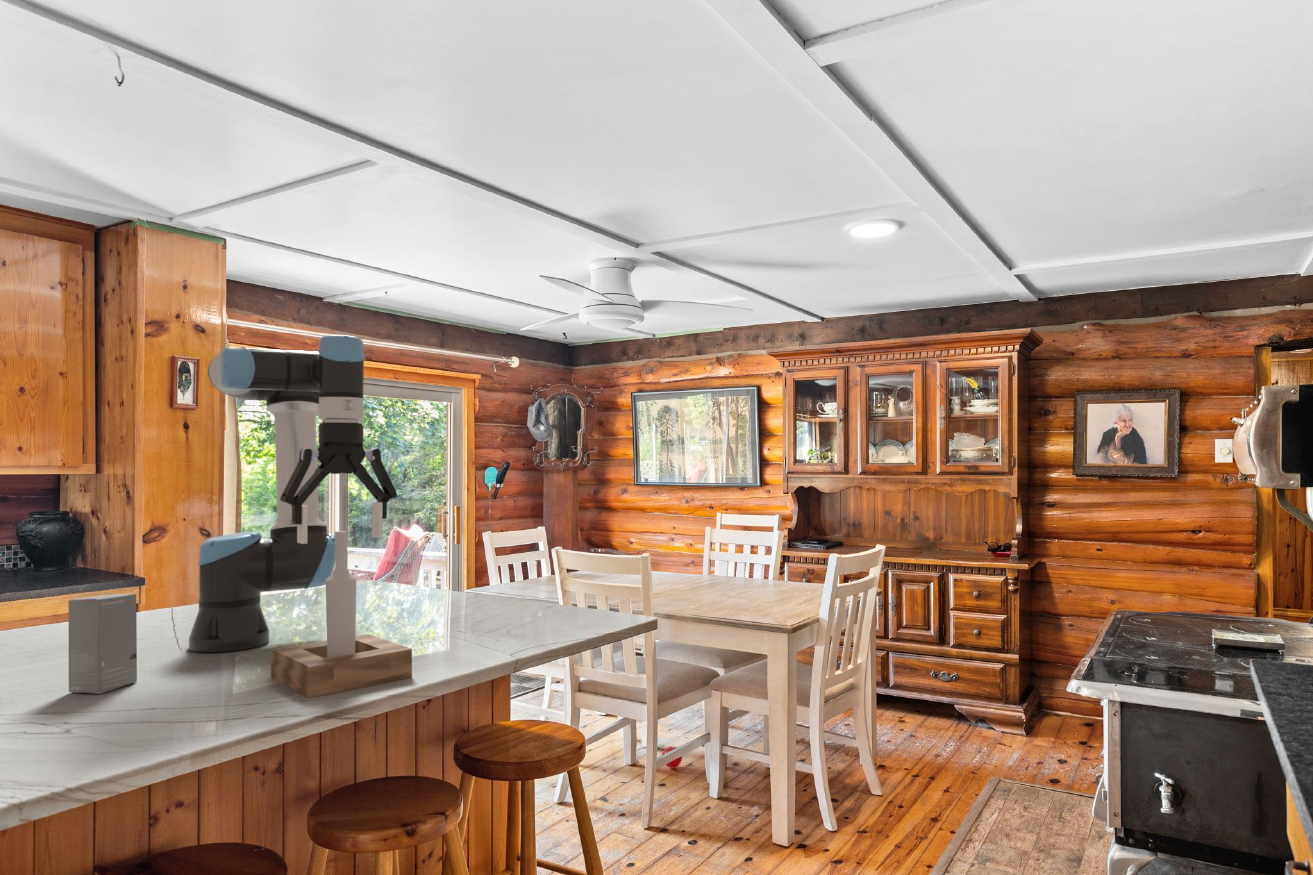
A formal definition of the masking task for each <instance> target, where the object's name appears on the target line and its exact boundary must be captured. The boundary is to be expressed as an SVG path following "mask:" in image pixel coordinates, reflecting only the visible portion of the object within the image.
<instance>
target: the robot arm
mask: <svg viewBox="0 0 1313 875" xmlns="http://www.w3.org/2000/svg"><path fill="white" fill-rule="evenodd" d="M318 345H319V346H318V349H317V351H311V350H310V351H307V350H306V351H305V350H295V349H294V350H293V349H291V350H289V349H273V348H272V349H270V348H259V347H257V348H255V347H246V346H236V347H235V346H228V347H227V346H226V347H224V348H223V349H222V350H221V352H219V353H218V354H216V355H215V356H214V357H213V358H212V359H211V360H210V362H209V365H208V369H207V374H208V375H207V376H208V380H209V381H210V384H211V385H212V386H213V387H214V388H215V390H217V391H218V392H220V393H222V394H223V395H224V394H225V395H226V396H230V397H234V398H237V399H243V400H246V401H247V400H249V401H262V402H264V401H266V409H267V411H268V412H269V413H271V415H272V416H274V440H275V441H274V443H275V444H274V445H275V446H274V447H275V474H276V477H275V478H276V483H275V484H276V510H277V511H276V513H277V517H276V518H277V521H276V522H275V524H273V525H272V527H270V530H269V531H270V532H269V534H270V535H269V536H268V537H262V534H261V532H260V531H258V530H257V531H256V530H253V531H246V532H245V531H244V532H236V533H230V534H224V535H219V536H215V537H211V538H208V539H206V540H204V541H203V542H202V543H201V544H200V546H199V555H198V562H197V565H198V566H199V568H198V611H197V614H196V617H195V620H194V623H193V626H192V629H191V631H190V634H189V636H188V637H189V638H188V649H189V651H192V652H198V653H223V652H235V651H242V650H247V649H253V648H257V647H261V646H263V645H266V644H268V643H269V642H270V629H269V626H268V623H267V620H266V618H265V615H264V612H263V609H262V607H261V593H264V592H275V591H276V592H278V591H289V590H299V589H302V590H303V589H304V590H307V589H312V588H318V587H322V586H326V581H325V580H326V579H327V578H328V577H329V576H330V575H331V574H332V573H333V570H334V569H335V534H333V533H331V532H328V526H327V524H326V523H325V522H323V521H322V520H321V519H320V502H319V501H320V500H319V485H320V484H321V482H322V481H324V479H325V478H326V477H327V476H328V475H329V474H330V475H331V474H333V475H338V474H339V475H340V474H349V475H350V474H353V475H354V476H356V477H357V478H358V480H359V481H360V482H361V483H362V485H363V486H364V487H365V489H367V490H368V491H369V493H370V494H371V495H372V496H373V498H375V500H376V501H372V503H371V521H372V522H371V537H373V538H377V539H381V538H383V520H386V519H387V517H388V512H387V511H388V509H387V508H388V502H390V500H391V499H393V498H394V499H395V498H397V496H398V493H397V491H396V490H397V489H396V488H395V487H394V484H393V482H392V481H391V478H390V476H389V473H388V472H387V469H386V468H385V465H384V463H383V461H382V456H381V454H382V453H381V450H380V449H379V448H370V449H366V450H365V449H364V425H363V423H361V421H362V420H364V381H365V380H364V379H365V378H364V373H365V372H364V370H365V369H364V366H365V365H364V364H365V362H364V361H365V355H366V354H364V353H365V352H364V350H365V349H364V342H363V340H362V339H361V338H360V337H358V336H353V335H347V334H346V335H345V334H328V335H324V336H322V337H321V338H320V339H319V343H318ZM317 415H318V419H319V420H321V421H322V422H320V423H319V424H318V448H317V427H316V426H317V425H316V424H317V422H316V416H317ZM365 458H366V460H367V461H368V462H369V464H370V466H371V468H372V470H373V473H374V474H375V476H376V479H377V480H378V483H379V484H378V483H377V481H376V480H375V479H374V478H373V477H372V476H371V475H370V473H369V472H368V470H367V469H366V466H364V465H363V464H362V462H363V460H364V459H365ZM318 461H319V462H320V464H319V465H318ZM379 485H380V486H379Z"/></svg>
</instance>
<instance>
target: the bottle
mask: <svg viewBox="0 0 1313 875" xmlns="http://www.w3.org/2000/svg"><path fill="white" fill-rule="evenodd" d="M334 536H335V564H334V569H333V573H332V574H331V575H330V576H329V577H328V578H327V579H326V580H325V581H326V584H325V612H326V613H325V617H326V618H325V619H326V620H325V621H326V641H327V658H331V657H336V656H342V655H348V654H354V653H355V636H356V628H357V627H356V623H357V622H356V620H357V618H356V617H357V577H356V576H354V575H353V574H352V573H351V572H350V569H349V568H348V559H347V558H348V556H347V555H348V550H347V549H348V548H347V547H348V545H347V544H348V531H347V530H341V531H340V530H338V531H337V530H336V531H334Z"/></svg>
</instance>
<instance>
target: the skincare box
mask: <svg viewBox="0 0 1313 875" xmlns="http://www.w3.org/2000/svg"><path fill="white" fill-rule="evenodd" d="M67 604H68V693H78V694H79V693H83V694H84V693H85V694H88V693H89V694H96V695H100V694H104V693H108V692H111V691H113V690H117V689H119V688H123V687H125V686H127V685H131V684H134V683H137V681H138V668H137V667H138V666H137V664H138V662H137V661H138V659H137V658H138V655H137V654H138V653H137V650H138V649H137V648H138V647H137V645H138V644H137V643H138V642H137V640H138V639H137V638H138V637H137V632H138V630H137V629H138V627H137V626H138V625H137V621H138V620H137V593H113V594H112V593H108V594H107V593H106V594H100V595H91V596H85V597H84V596H83V597H76V598H72V599H69V600H68V602H67Z"/></svg>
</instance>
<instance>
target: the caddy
mask: <svg viewBox="0 0 1313 875" xmlns="http://www.w3.org/2000/svg"><path fill="white" fill-rule="evenodd" d="M412 677H413V648H410V647H409V646H404V645H402V644H399V643H395V642H393V641H389V640H388V639H383V638H381V637H379V636H375V635H372V634H369V633H366V634H365V633H364V634H360V635H355V653H354V654H348V655H342V656H336V657H331V658H327V640H321V641H315V642H309V643H303V644H297V645H290V646H289V645H288V646H283V647H278V648H271V649H270V678H272V679H273V680H275V681H277V682H279V683H281V684H282V685H284V686H286V687H288V688H289V689H293V690H294V691H296V692H297V693H300V694H301V695H303V696H306V697H307V698H309V699H310V698H315V697H320V696H325V695H329V694H334V693H340V692H344V691H350V690H355V689H360V688H365V687H370V686H375V685H379V684H385V683H389V682H395V681H399V680H406V679H409V678H412Z"/></svg>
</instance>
